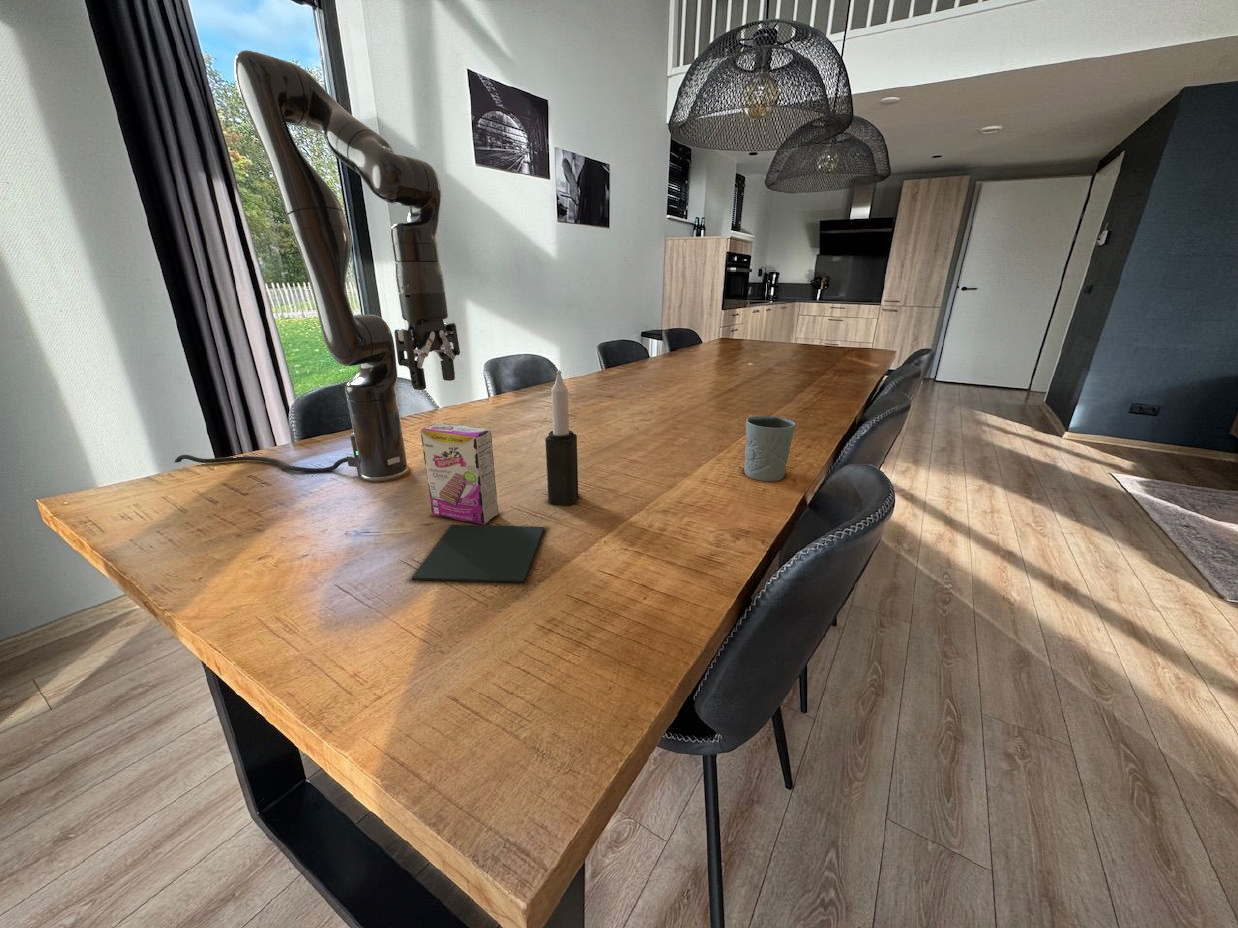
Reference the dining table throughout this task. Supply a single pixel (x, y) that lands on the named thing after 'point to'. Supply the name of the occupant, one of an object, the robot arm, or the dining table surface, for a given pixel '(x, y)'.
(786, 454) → the grey green embossed cup
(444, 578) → the mat
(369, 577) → the dining table surface
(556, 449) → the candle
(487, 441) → the candy bar box
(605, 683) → the dining table surface
